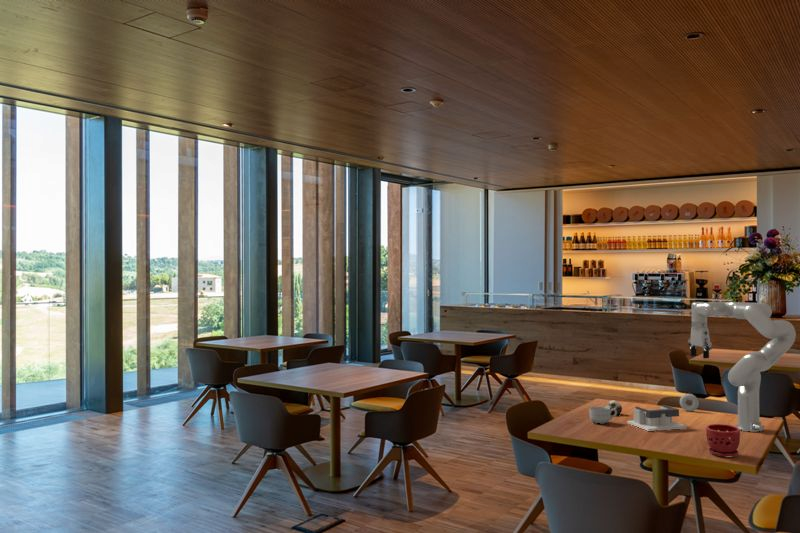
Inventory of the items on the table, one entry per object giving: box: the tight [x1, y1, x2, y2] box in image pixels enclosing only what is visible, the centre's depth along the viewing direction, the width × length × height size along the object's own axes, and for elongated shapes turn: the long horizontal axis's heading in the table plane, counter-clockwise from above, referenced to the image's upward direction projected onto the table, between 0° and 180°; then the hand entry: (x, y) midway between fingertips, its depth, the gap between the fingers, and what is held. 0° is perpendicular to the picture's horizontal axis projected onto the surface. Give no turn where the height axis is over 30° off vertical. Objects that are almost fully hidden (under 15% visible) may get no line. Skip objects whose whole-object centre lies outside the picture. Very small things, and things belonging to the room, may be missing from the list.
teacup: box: [588, 406, 617, 425], centre depth 343 cm, size 14×11×8 cm
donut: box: [679, 393, 700, 412], centre depth 369 cm, size 10×4×10 cm, turn 60°
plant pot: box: [705, 423, 741, 457], centre depth 282 cm, size 13×13×12 cm
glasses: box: [634, 404, 680, 418], centre depth 334 cm, size 12×17×4 cm
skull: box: [604, 400, 623, 417], centre depth 364 cm, size 12×10×10 cm
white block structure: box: [626, 406, 688, 432], centre depth 334 cm, size 18×22×8 cm
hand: (699, 357), depth 349 cm, fingers open, 9 cm apart
